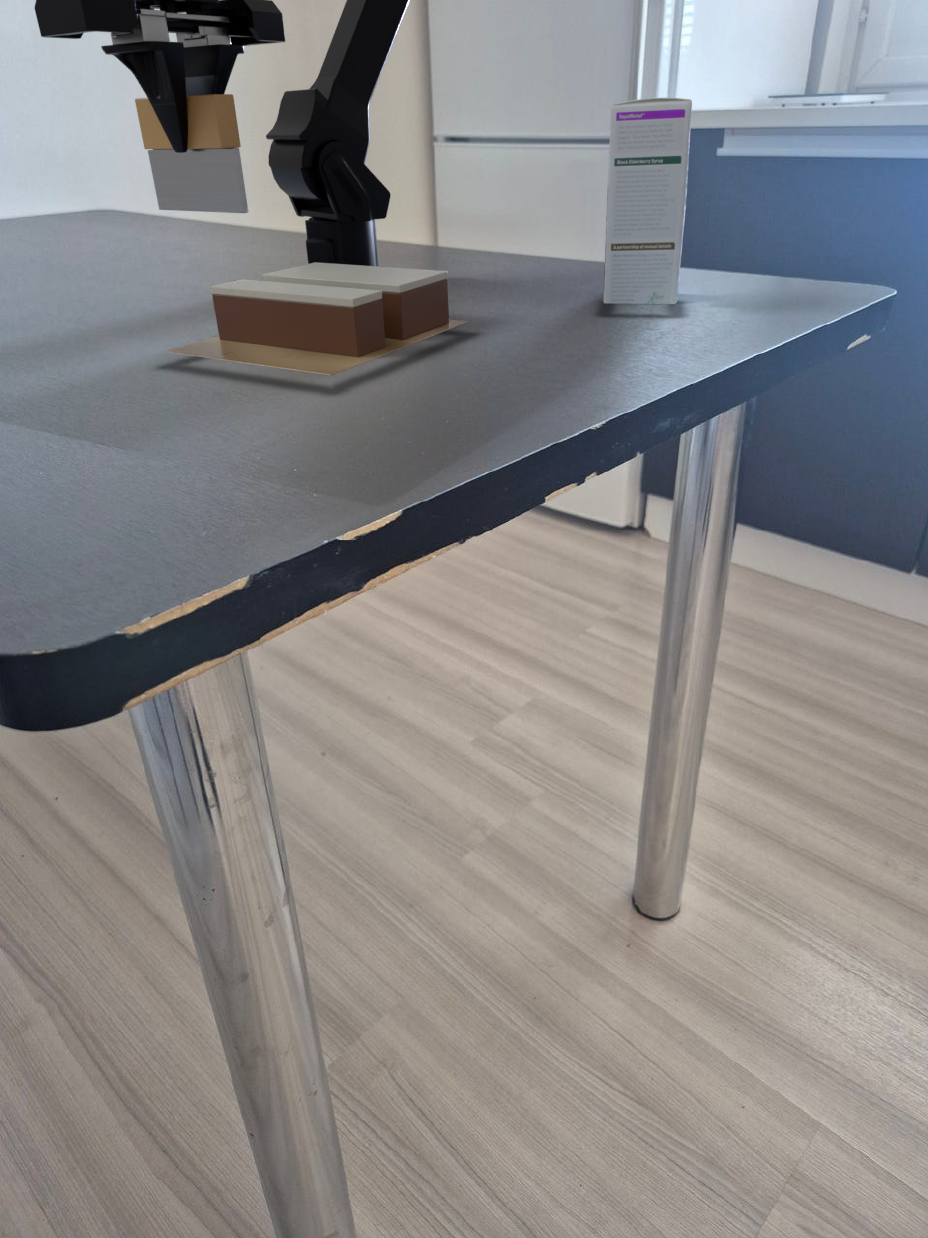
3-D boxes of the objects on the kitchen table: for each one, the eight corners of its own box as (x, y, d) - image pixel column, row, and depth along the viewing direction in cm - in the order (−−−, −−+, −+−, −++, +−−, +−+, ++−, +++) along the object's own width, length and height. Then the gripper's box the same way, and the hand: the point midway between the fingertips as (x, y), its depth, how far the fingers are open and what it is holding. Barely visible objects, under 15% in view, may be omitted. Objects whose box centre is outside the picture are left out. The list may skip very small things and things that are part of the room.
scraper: (152, 210, 71) (129, 98, 67) (171, 208, 72) (150, 98, 68) (236, 214, 66) (218, 93, 62) (255, 211, 67) (238, 93, 63)
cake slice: (249, 330, 61) (241, 278, 59) (385, 346, 55) (381, 290, 53) (219, 339, 58) (210, 285, 57) (358, 357, 53) (353, 298, 51)
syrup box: (676, 316, 65) (698, 96, 58) (599, 316, 66) (610, 99, 59) (676, 302, 70) (695, 96, 62) (604, 301, 71) (614, 99, 64)
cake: (320, 309, 66) (314, 262, 65) (449, 322, 61) (447, 270, 59) (268, 325, 62) (261, 274, 60) (403, 340, 57) (399, 285, 55)
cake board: (319, 319, 68) (318, 306, 68) (469, 335, 62) (468, 320, 61) (168, 366, 56) (164, 351, 56) (333, 391, 50) (331, 374, 50)
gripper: (176, -71, 69) (211, 146, 77) (-45, -109, 56) (25, 158, 64) (275, -91, 64) (301, 145, 72) (57, -137, 51) (119, 158, 59)
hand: (192, 151), depth 67 cm, fingers closed on scraper, 2 cm apart
